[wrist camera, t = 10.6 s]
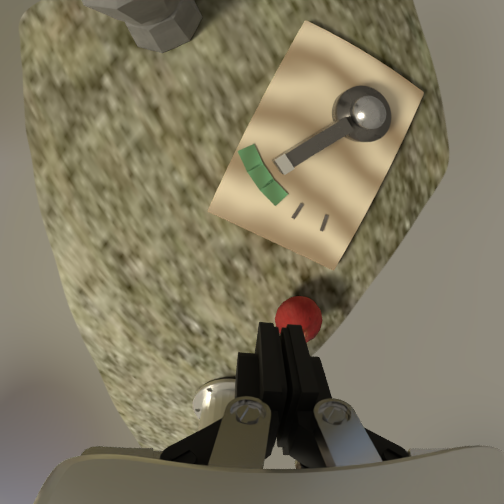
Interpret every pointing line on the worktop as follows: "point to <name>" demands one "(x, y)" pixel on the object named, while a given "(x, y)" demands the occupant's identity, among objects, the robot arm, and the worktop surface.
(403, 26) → the worktop surface
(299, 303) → the onion
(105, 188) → the worktop surface
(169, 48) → the coffeepot
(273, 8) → the worktop surface
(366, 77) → the tuner board
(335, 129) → the dial
